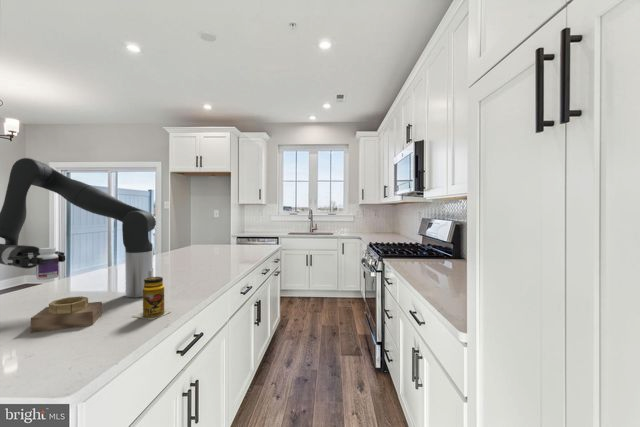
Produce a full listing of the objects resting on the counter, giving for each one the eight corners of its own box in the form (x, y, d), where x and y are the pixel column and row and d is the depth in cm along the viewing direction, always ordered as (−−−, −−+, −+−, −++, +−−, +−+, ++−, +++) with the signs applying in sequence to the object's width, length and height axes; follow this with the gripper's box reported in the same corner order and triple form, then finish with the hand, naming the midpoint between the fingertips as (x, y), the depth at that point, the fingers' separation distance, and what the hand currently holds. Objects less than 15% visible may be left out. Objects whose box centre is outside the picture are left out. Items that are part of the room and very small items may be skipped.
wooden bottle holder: (101, 313, 97) (101, 293, 97) (92, 324, 88) (92, 302, 88) (46, 319, 92) (46, 298, 92) (30, 332, 83) (30, 309, 82)
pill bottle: (62, 276, 99) (62, 247, 98) (43, 280, 94) (42, 249, 93) (52, 275, 100) (51, 246, 100) (32, 279, 95) (31, 248, 95)
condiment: (153, 320, 92) (152, 281, 92) (132, 317, 95) (131, 279, 95) (171, 312, 99) (171, 276, 99) (151, 309, 102) (151, 274, 101)
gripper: (-7, 248, 95) (23, 251, 89) (47, 243, 109) (77, 245, 103) (-7, 271, 95) (24, 276, 89) (48, 263, 109) (77, 267, 103)
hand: (52, 260), depth 96 cm, fingers closed on pill bottle, 5 cm apart
